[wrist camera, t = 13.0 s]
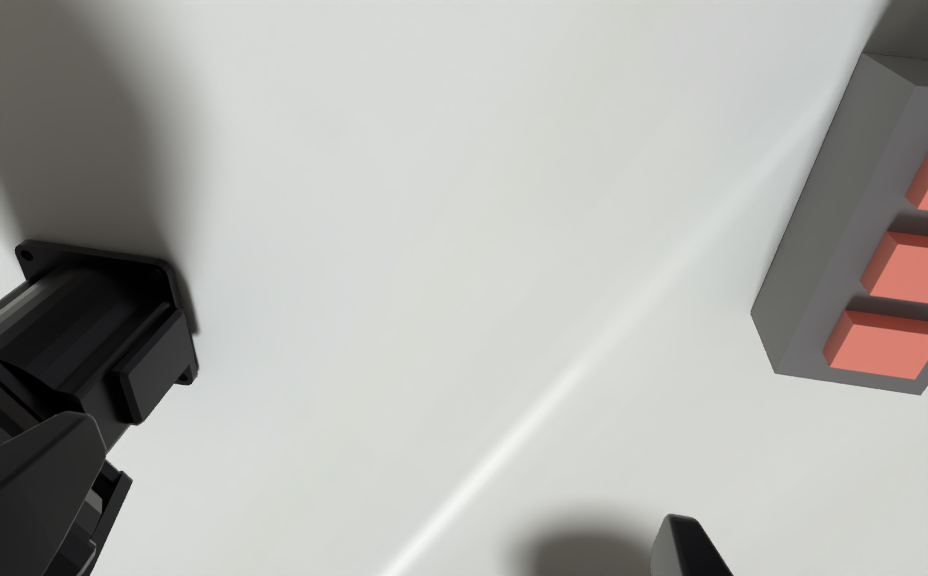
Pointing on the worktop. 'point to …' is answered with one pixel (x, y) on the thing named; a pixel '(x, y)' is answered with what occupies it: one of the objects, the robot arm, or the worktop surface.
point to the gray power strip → (859, 243)
